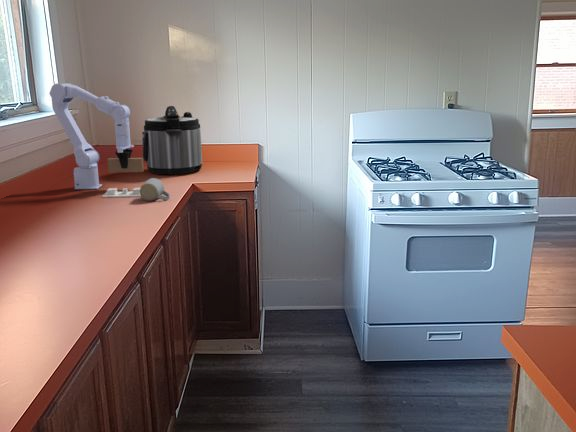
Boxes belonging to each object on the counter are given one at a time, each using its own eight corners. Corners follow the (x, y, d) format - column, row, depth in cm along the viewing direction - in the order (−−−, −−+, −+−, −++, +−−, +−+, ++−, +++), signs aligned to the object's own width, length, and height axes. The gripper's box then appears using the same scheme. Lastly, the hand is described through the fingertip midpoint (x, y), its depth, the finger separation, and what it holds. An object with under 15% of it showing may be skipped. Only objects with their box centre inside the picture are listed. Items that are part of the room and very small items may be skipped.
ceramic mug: (139, 201, 206) (138, 181, 204) (145, 196, 214) (144, 177, 212) (166, 202, 206) (166, 182, 204) (172, 197, 214) (171, 178, 212)
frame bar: (108, 172, 226) (107, 159, 225) (110, 171, 229) (109, 158, 227) (142, 171, 227) (141, 158, 225) (143, 170, 230) (142, 157, 228)
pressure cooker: (166, 164, 288) (162, 103, 280) (213, 167, 278) (211, 104, 270) (131, 174, 261) (126, 107, 253) (183, 178, 251) (179, 108, 243)
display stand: (102, 197, 213) (101, 191, 212) (107, 193, 221) (106, 187, 220) (143, 196, 214) (143, 190, 213) (147, 192, 222) (146, 186, 221)
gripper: (129, 136, 217) (131, 170, 221) (136, 132, 231) (138, 164, 235) (111, 137, 217) (113, 170, 220) (119, 133, 231) (121, 164, 234)
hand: (125, 167), depth 227 cm, fingers closed on frame bar, 3 cm apart
